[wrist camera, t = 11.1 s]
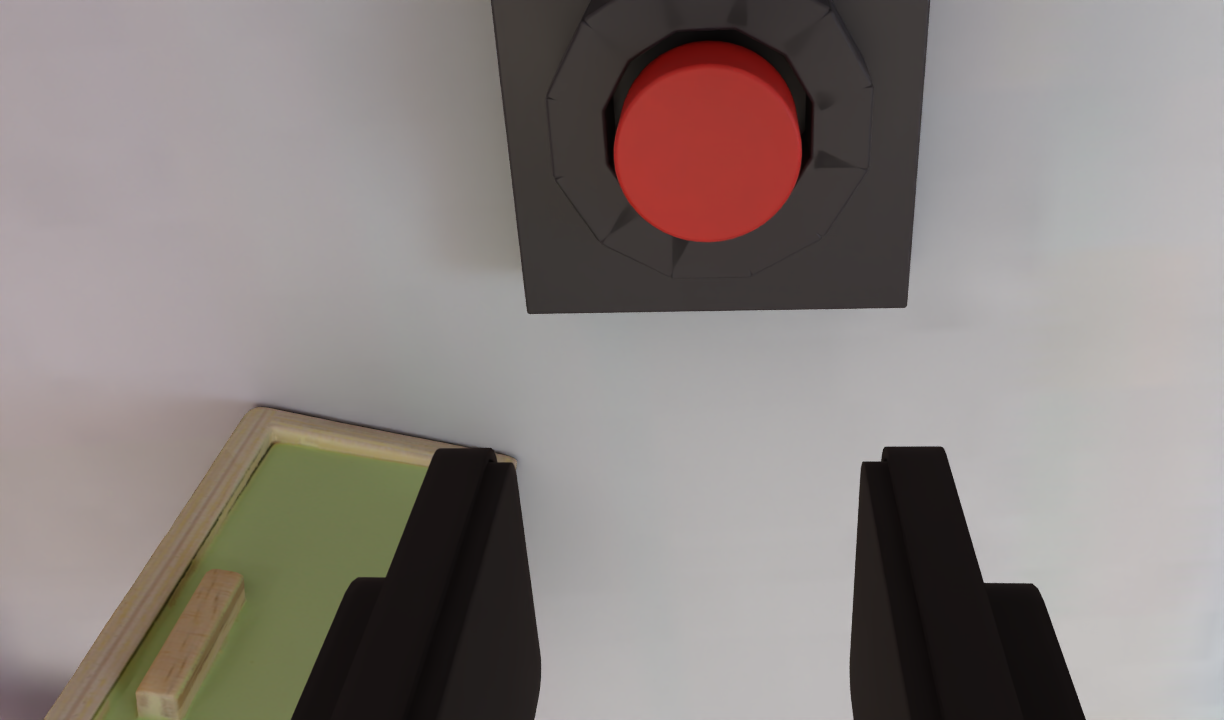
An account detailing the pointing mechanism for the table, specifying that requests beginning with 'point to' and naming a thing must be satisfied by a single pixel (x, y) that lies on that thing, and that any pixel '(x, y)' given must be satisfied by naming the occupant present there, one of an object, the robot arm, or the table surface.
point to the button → (708, 142)
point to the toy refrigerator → (253, 573)
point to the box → (789, 241)
